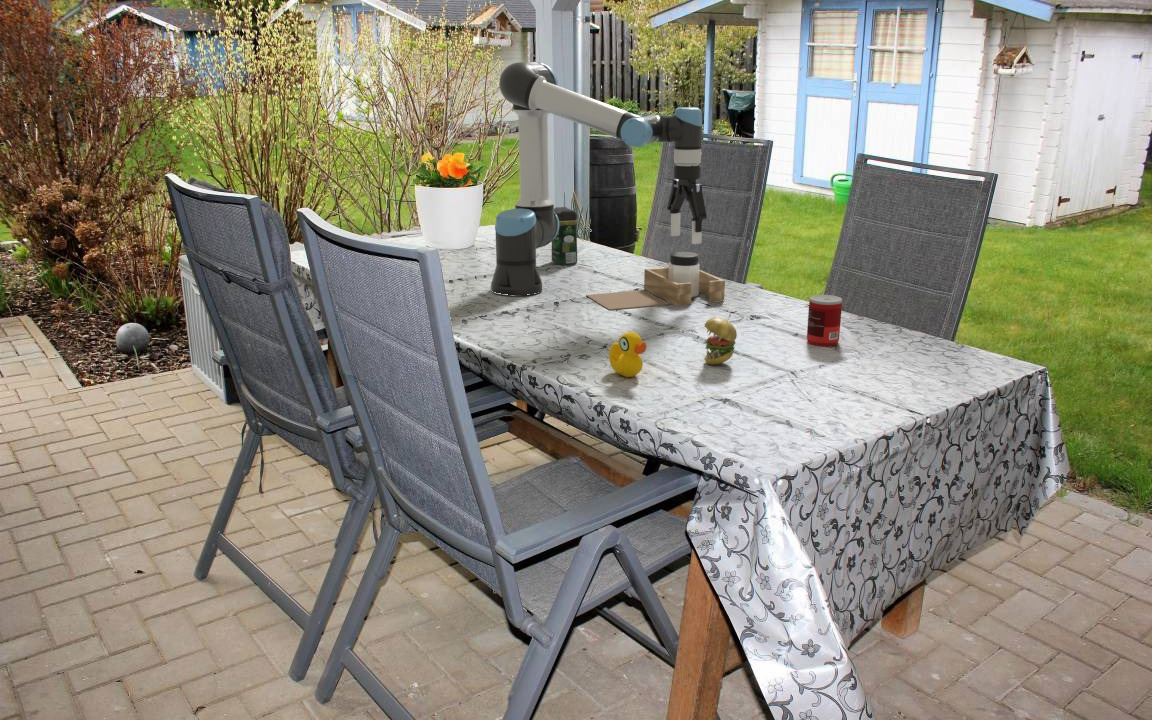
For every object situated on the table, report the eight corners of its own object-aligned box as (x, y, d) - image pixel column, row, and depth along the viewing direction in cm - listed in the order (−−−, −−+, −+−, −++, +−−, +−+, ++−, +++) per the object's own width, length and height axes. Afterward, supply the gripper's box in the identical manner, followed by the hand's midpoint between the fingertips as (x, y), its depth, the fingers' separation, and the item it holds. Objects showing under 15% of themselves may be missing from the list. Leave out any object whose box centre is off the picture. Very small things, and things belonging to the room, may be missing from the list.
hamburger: (701, 358, 230) (703, 308, 226) (733, 358, 230) (735, 308, 226) (704, 368, 223) (706, 316, 219) (737, 368, 222) (739, 316, 219)
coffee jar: (548, 261, 338) (548, 206, 332) (570, 259, 340) (570, 205, 335) (557, 266, 329) (557, 210, 323) (580, 265, 331) (580, 209, 326)
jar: (683, 299, 285) (685, 258, 281) (662, 295, 290) (663, 254, 287) (703, 294, 290) (705, 254, 287) (682, 290, 296) (683, 250, 293)
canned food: (840, 339, 245) (843, 295, 242) (837, 348, 238) (840, 303, 235) (808, 336, 248) (811, 293, 245) (804, 345, 241) (807, 300, 237)
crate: (676, 305, 278) (676, 284, 276) (644, 288, 298) (644, 269, 296) (724, 301, 283) (725, 280, 281) (689, 285, 303) (690, 265, 301)
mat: (609, 310, 273) (609, 309, 273) (586, 295, 289) (586, 294, 289) (669, 304, 279) (669, 303, 279) (642, 291, 295) (642, 290, 295)
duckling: (654, 380, 214) (655, 335, 212) (634, 385, 212) (635, 339, 209) (621, 367, 223) (622, 324, 220) (602, 371, 220) (603, 327, 217)
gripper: (720, 168, 269) (718, 245, 275) (680, 159, 292) (678, 232, 298) (695, 169, 267) (693, 247, 273) (656, 160, 289) (655, 233, 295)
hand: (685, 239), depth 285 cm, fingers open, 13 cm apart
